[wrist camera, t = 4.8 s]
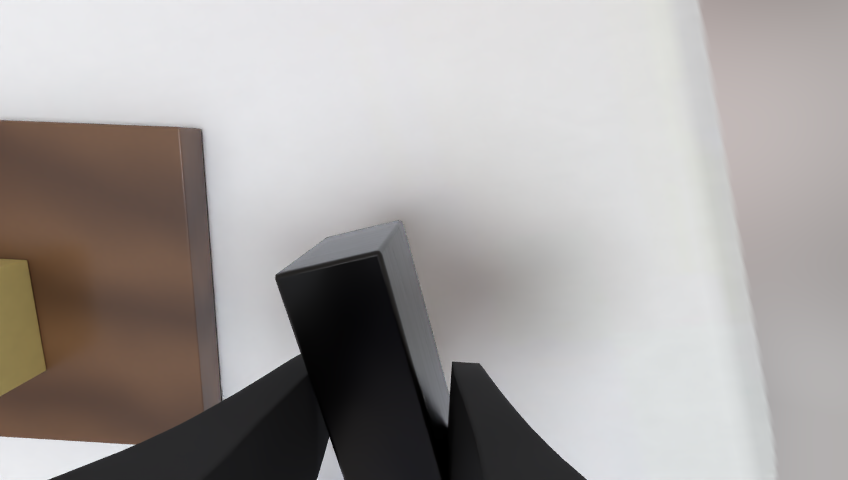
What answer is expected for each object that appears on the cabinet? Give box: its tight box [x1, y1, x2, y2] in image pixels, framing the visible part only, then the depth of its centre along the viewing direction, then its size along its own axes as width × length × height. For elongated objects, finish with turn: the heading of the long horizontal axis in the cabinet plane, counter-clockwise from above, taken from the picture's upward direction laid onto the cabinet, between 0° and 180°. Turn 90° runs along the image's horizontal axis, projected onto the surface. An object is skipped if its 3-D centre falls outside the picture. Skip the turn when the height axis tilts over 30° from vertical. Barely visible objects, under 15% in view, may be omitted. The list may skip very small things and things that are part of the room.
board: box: [0, 120, 221, 445], centre depth 18 cm, size 14×18×2 cm
